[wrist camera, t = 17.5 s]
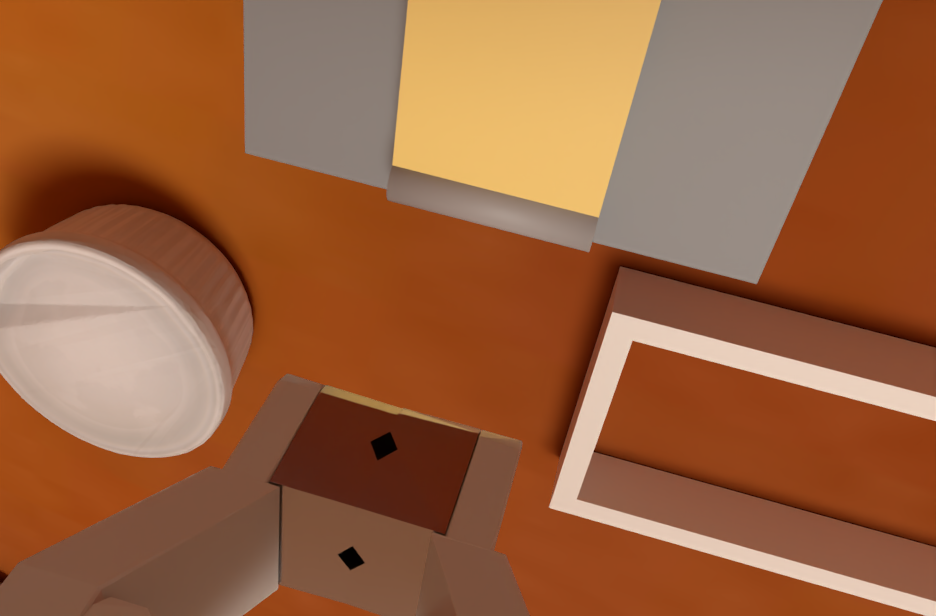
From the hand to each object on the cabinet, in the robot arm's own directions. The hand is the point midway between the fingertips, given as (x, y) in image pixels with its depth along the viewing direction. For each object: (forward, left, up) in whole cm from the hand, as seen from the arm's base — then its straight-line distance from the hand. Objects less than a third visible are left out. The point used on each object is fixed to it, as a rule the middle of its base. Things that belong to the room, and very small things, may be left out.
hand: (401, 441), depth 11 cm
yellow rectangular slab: (+1, +1, -15) cm, 15 cm away
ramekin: (+16, +18, -22) cm, 32 cm away
